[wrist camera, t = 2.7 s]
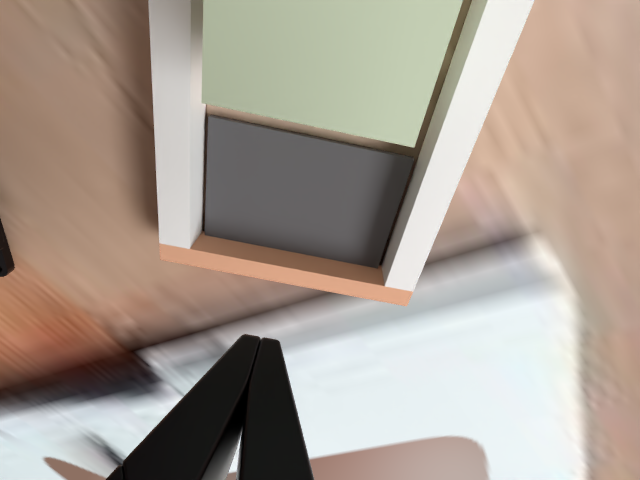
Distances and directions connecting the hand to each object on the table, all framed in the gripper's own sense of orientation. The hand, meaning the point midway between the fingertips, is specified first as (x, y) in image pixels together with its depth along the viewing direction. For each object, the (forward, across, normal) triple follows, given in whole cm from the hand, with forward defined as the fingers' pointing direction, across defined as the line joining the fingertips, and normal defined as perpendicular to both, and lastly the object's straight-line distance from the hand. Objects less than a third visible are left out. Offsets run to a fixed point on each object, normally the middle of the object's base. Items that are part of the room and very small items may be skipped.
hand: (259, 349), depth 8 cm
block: (+8, 0, -7) cm, 10 cm away
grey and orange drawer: (+8, 0, 0) cm, 8 cm away
